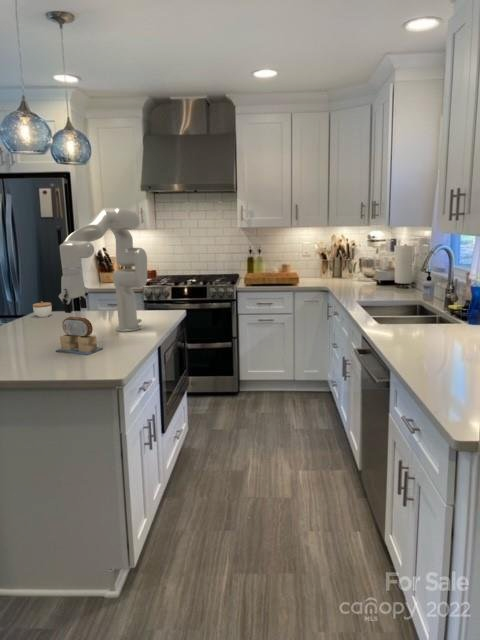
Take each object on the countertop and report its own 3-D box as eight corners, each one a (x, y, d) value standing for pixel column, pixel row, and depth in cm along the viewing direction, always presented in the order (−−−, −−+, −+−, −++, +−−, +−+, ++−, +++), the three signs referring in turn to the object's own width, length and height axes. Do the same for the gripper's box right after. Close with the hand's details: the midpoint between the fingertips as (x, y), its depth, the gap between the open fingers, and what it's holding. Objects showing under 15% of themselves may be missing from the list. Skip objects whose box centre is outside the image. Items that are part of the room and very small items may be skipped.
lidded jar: (34, 315, 306) (33, 300, 304) (53, 314, 309) (51, 299, 307) (33, 318, 296) (31, 303, 294) (52, 317, 299) (50, 302, 297)
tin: (93, 336, 218) (92, 317, 217) (88, 338, 216) (87, 319, 214) (67, 334, 225) (65, 315, 223) (62, 335, 222) (60, 317, 220)
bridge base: (71, 346, 230) (70, 332, 228) (102, 349, 222) (101, 334, 221) (55, 351, 221) (54, 337, 219) (87, 355, 214) (86, 340, 212)
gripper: (78, 268, 224) (82, 306, 228) (50, 274, 208) (55, 314, 212) (91, 269, 221) (95, 306, 225) (64, 274, 205) (68, 315, 209)
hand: (76, 310), depth 218 cm, fingers open, 9 cm apart
